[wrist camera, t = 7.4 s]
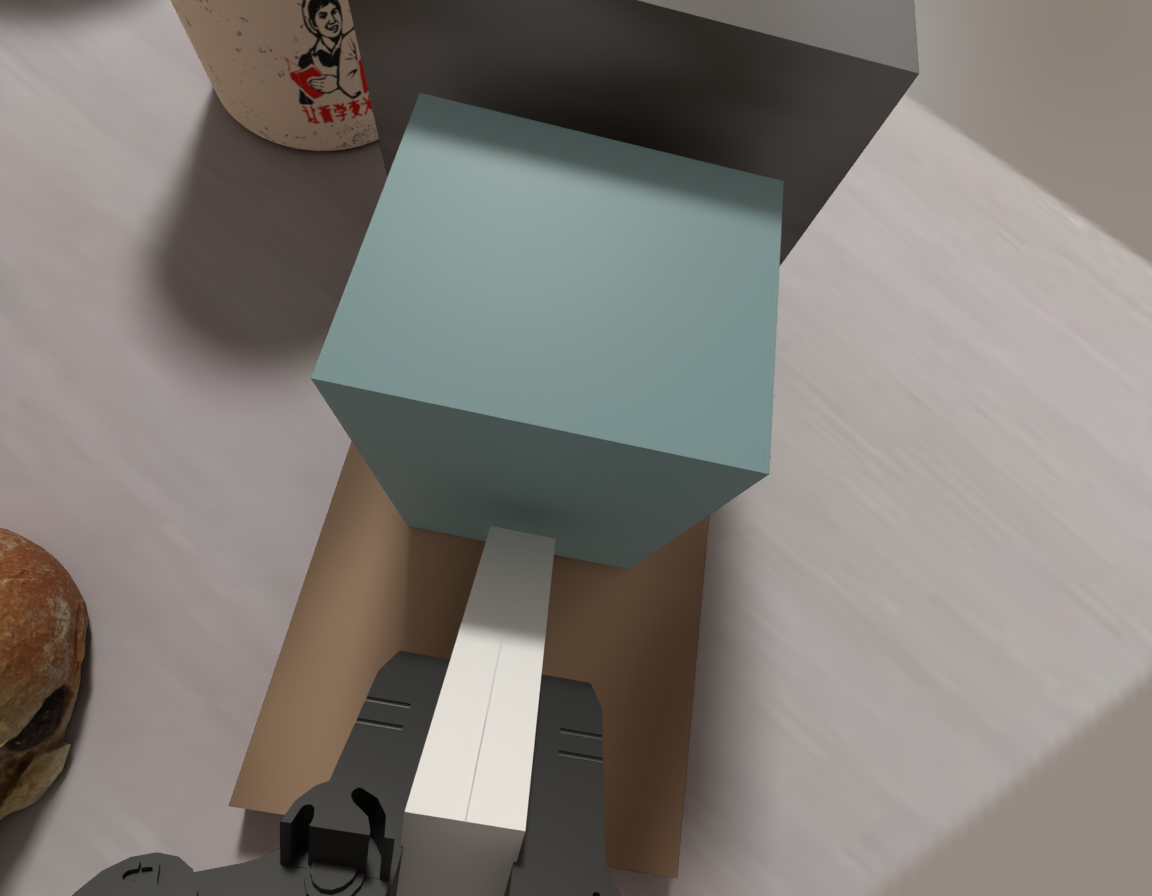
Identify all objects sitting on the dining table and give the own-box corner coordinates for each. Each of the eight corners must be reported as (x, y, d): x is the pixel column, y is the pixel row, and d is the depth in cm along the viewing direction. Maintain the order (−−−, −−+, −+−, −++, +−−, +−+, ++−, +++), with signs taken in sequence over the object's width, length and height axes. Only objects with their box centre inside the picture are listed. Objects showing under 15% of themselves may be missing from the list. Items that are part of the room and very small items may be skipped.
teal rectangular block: (407, 525, 18) (310, 378, 8) (455, 358, 20) (419, 92, 11) (628, 569, 18) (769, 474, 9) (651, 400, 20) (783, 181, 11)
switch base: (247, 795, 16) (-1037, 1498, 3) (444, 195, 24) (380, -396, 11) (664, 863, 17) (1349, 1686, 3) (722, 259, 25) (991, -216, 11)
